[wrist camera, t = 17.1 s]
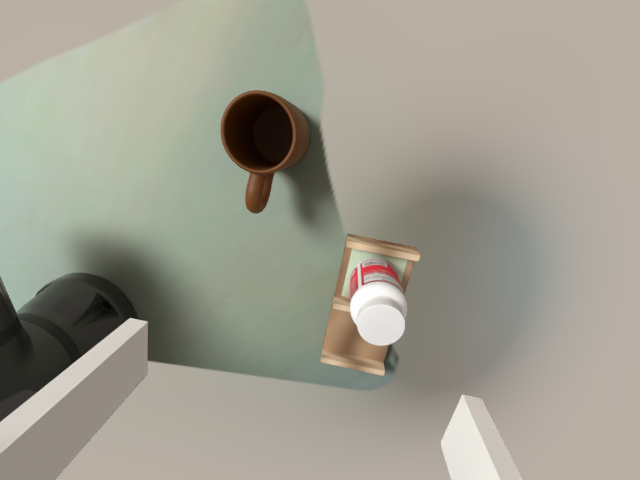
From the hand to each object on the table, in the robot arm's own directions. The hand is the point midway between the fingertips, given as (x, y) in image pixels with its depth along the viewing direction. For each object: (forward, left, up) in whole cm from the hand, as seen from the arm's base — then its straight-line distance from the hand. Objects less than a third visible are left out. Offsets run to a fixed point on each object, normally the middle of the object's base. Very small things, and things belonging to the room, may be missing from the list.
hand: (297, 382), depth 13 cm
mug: (-8, +7, -29) cm, 31 cm away
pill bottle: (+7, -6, -27) cm, 29 cm away
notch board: (+7, -11, -28) cm, 31 cm away
